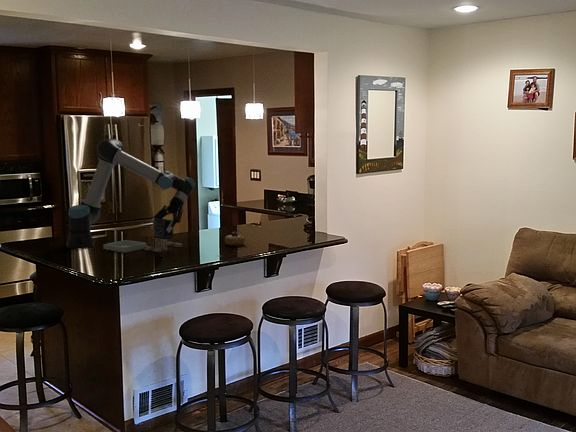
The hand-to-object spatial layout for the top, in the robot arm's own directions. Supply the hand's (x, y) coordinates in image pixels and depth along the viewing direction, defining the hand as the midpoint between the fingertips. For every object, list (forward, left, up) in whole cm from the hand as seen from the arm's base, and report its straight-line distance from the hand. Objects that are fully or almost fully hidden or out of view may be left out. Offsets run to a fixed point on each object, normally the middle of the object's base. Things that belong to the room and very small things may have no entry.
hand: (160, 230), depth 354 cm
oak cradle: (0, +3, -11) cm, 11 cm away
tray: (-17, -10, -11) cm, 23 cm away
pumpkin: (+27, +35, -11) cm, 45 cm away
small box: (0, +3, -5) cm, 6 cm away
